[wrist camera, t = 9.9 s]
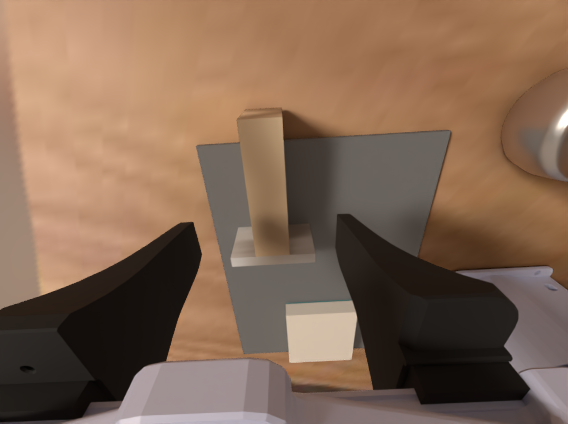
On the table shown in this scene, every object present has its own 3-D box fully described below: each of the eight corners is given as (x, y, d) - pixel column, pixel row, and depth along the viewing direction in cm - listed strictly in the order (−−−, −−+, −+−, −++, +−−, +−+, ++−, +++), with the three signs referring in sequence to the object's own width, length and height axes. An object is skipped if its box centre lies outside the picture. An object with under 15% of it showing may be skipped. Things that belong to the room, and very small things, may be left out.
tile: (357, 311, 24) (351, 359, 28) (353, 298, 26) (347, 345, 30) (285, 315, 24) (289, 362, 28) (285, 302, 26) (289, 348, 30)
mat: (447, 129, 18) (451, 131, 17) (392, 343, 30) (393, 346, 30) (197, 144, 18) (196, 146, 18) (243, 350, 30) (243, 353, 30)
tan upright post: (308, 105, 16) (316, 115, 13) (309, 231, 21) (315, 262, 18) (218, 111, 17) (202, 121, 13) (239, 235, 21) (232, 266, 18)
